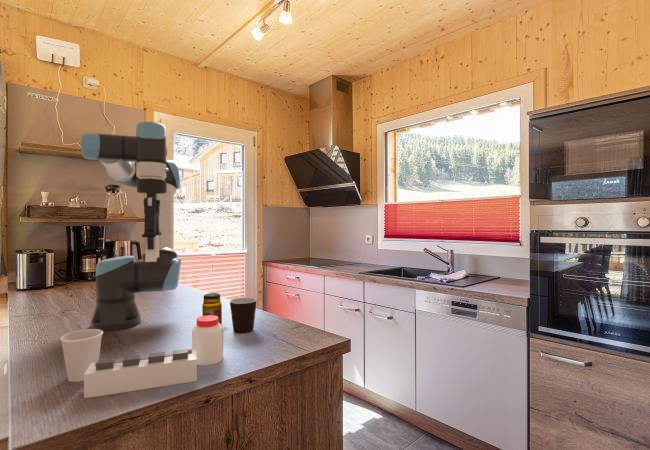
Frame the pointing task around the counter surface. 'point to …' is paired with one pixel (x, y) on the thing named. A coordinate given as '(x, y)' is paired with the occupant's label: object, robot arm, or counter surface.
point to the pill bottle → (208, 340)
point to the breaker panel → (140, 372)
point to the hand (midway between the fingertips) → (152, 259)
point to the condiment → (212, 306)
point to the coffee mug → (243, 314)
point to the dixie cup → (80, 351)
